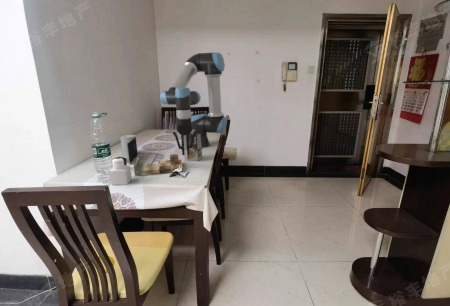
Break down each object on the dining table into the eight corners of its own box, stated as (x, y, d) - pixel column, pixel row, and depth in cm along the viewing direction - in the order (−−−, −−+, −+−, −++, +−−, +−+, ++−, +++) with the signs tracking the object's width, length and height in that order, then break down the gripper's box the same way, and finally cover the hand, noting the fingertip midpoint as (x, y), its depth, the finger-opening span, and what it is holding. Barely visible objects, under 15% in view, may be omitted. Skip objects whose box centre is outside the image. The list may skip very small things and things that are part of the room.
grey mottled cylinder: (132, 156, 152) (130, 138, 149) (119, 156, 154) (116, 137, 151) (140, 152, 161) (138, 135, 158) (128, 152, 163) (125, 134, 160)
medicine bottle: (117, 179, 116) (113, 155, 112) (132, 178, 116) (129, 155, 113) (111, 185, 109) (107, 160, 105) (127, 184, 109) (124, 160, 106)
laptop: (151, 164, 138) (149, 143, 134) (129, 165, 137) (126, 143, 133) (156, 155, 155) (155, 136, 152) (137, 156, 154) (135, 137, 150)
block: (178, 161, 134) (178, 154, 133) (178, 164, 130) (178, 156, 128) (170, 162, 133) (169, 154, 132) (170, 164, 129) (169, 156, 127)
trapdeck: (181, 163, 139) (180, 154, 138) (182, 172, 125) (182, 162, 123) (138, 166, 134) (137, 157, 132) (134, 176, 120) (133, 165, 118)
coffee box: (202, 158, 148) (201, 133, 144) (198, 161, 143) (197, 135, 138) (189, 157, 151) (188, 132, 147) (184, 159, 145) (183, 134, 141)
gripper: (195, 116, 130) (196, 157, 136) (171, 117, 127) (173, 159, 133) (197, 118, 123) (198, 161, 129) (171, 119, 120) (174, 163, 126)
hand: (186, 160), depth 131 cm, fingers closed
